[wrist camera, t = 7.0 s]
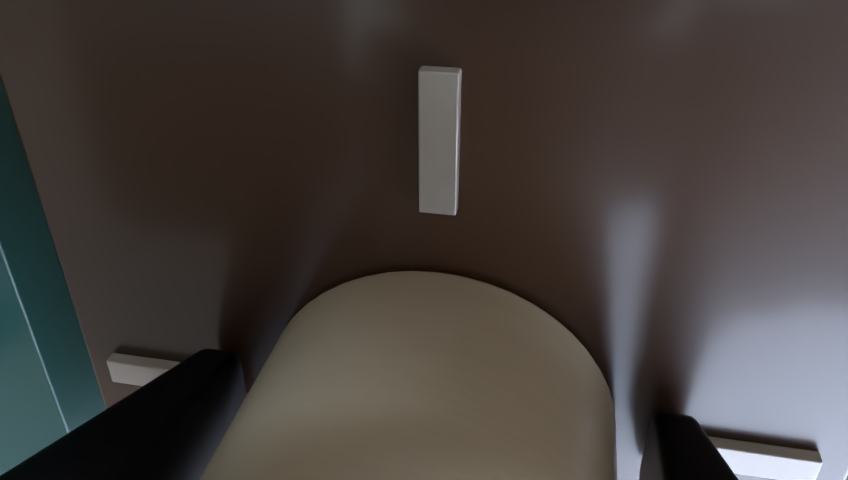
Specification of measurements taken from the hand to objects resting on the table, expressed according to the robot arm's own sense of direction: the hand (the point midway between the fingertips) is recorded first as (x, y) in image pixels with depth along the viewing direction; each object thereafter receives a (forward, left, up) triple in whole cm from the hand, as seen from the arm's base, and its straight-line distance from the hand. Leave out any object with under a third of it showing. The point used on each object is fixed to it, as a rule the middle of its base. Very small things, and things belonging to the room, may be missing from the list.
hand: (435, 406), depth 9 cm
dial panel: (0, 0, -3) cm, 3 cm away
